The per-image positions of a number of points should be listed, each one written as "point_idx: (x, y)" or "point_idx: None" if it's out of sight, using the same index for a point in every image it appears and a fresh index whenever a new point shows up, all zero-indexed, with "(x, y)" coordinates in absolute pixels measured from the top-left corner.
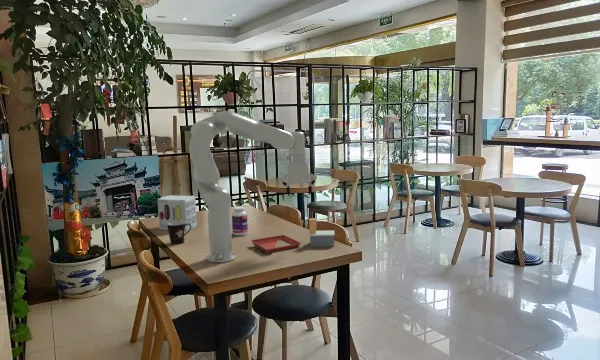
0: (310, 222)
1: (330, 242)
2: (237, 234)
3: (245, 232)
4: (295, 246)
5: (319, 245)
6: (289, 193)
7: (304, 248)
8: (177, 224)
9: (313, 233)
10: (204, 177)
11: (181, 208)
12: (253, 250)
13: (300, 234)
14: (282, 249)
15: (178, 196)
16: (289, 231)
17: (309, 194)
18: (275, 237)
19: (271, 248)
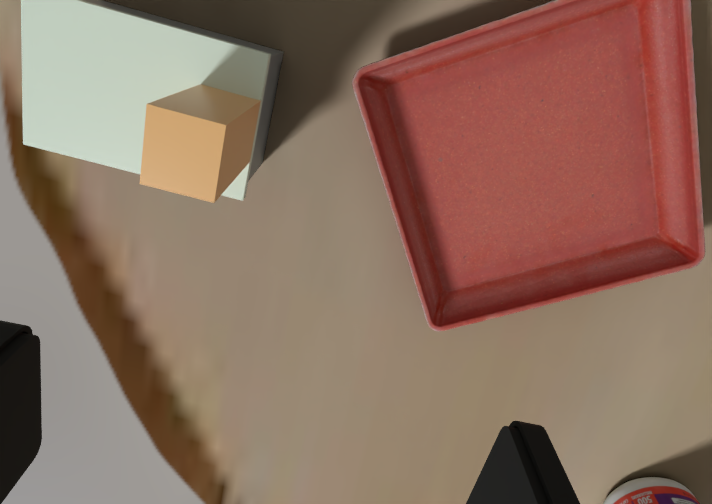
0: (221, 115)
1: (104, 5)
2: (677, 482)
3: (629, 492)
4: (401, 63)
5: (207, 31)
6: (526, 462)
7: (328, 67)
8: None
9: (224, 90)
10: None
11: None
12: (704, 132)
13: (294, 405)
14: (515, 29)
15: None
16: (348, 479)
17: (18, 324)
18: (496, 306)
19: None
